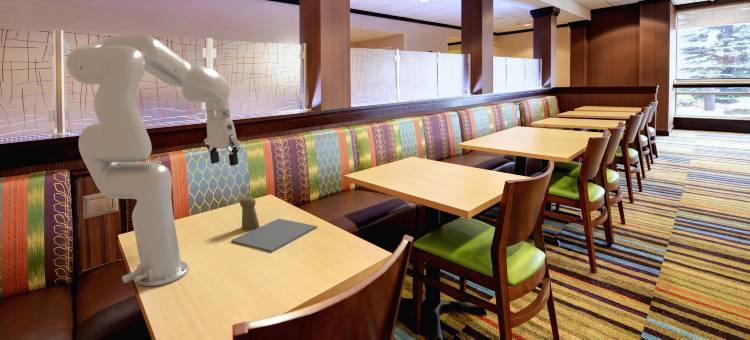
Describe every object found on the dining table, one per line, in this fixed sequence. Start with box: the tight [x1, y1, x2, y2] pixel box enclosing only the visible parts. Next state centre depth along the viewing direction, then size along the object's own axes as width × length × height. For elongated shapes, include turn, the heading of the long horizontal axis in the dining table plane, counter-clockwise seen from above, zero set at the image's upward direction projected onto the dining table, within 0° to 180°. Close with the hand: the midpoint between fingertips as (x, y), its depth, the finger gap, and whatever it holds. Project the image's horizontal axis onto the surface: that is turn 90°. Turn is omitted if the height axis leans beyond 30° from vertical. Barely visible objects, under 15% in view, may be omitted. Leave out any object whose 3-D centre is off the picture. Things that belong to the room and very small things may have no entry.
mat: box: [230, 218, 318, 253], centre depth 134 cm, size 22×18×1 cm
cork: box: [239, 196, 260, 232], centre depth 140 cm, size 6×6×11 cm
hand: (224, 163), depth 141 cm, fingers open, 9 cm apart
